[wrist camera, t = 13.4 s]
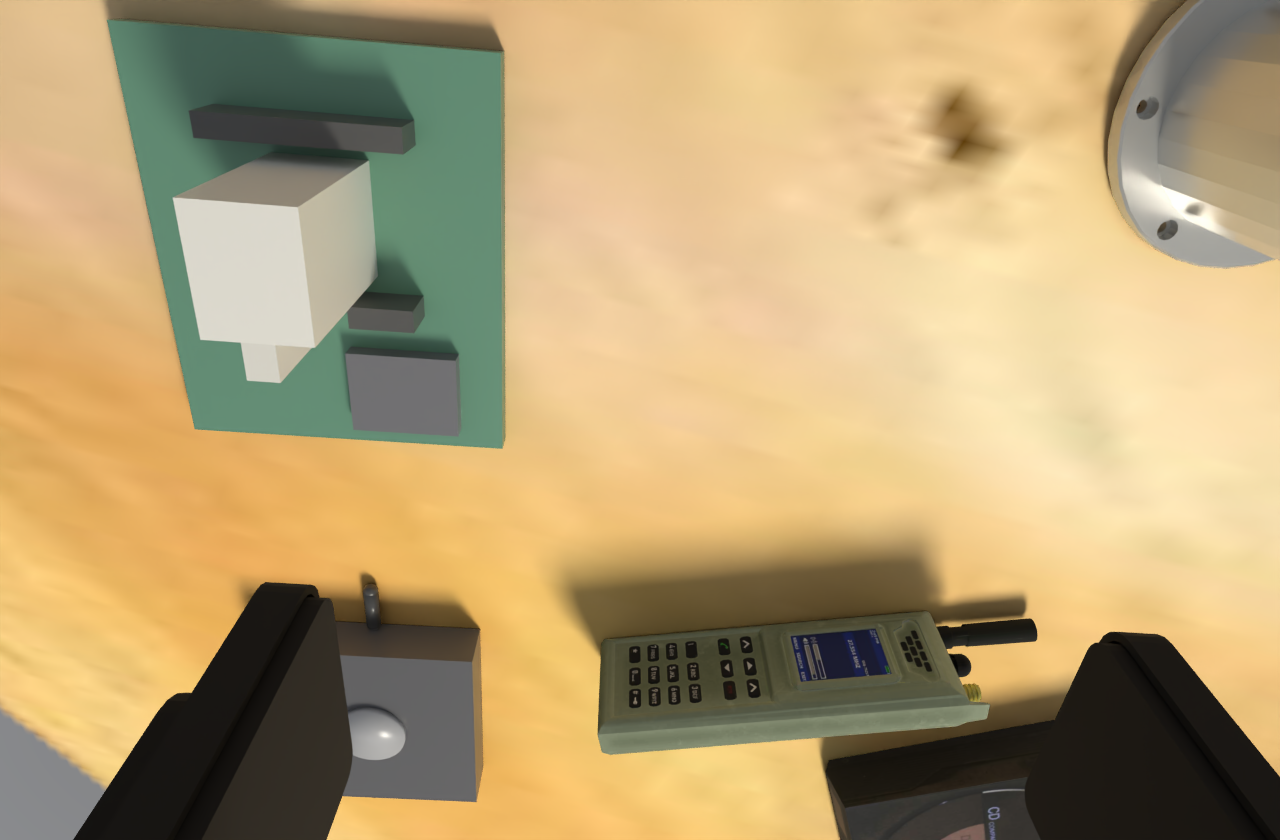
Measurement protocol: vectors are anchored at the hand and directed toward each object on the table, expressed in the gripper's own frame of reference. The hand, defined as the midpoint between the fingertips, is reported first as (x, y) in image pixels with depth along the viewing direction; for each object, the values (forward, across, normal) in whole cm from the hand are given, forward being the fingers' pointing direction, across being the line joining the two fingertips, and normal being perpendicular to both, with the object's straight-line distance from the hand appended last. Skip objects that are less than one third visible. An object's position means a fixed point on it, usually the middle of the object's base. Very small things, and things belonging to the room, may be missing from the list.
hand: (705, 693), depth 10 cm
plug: (+27, +14, +2) cm, 31 cm away
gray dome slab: (+28, +14, +30) cm, 44 cm away
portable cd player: (+29, -25, +41) cm, 56 cm away
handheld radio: (+29, -12, +25) cm, 40 cm away
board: (+28, +14, +4) cm, 32 cm away
